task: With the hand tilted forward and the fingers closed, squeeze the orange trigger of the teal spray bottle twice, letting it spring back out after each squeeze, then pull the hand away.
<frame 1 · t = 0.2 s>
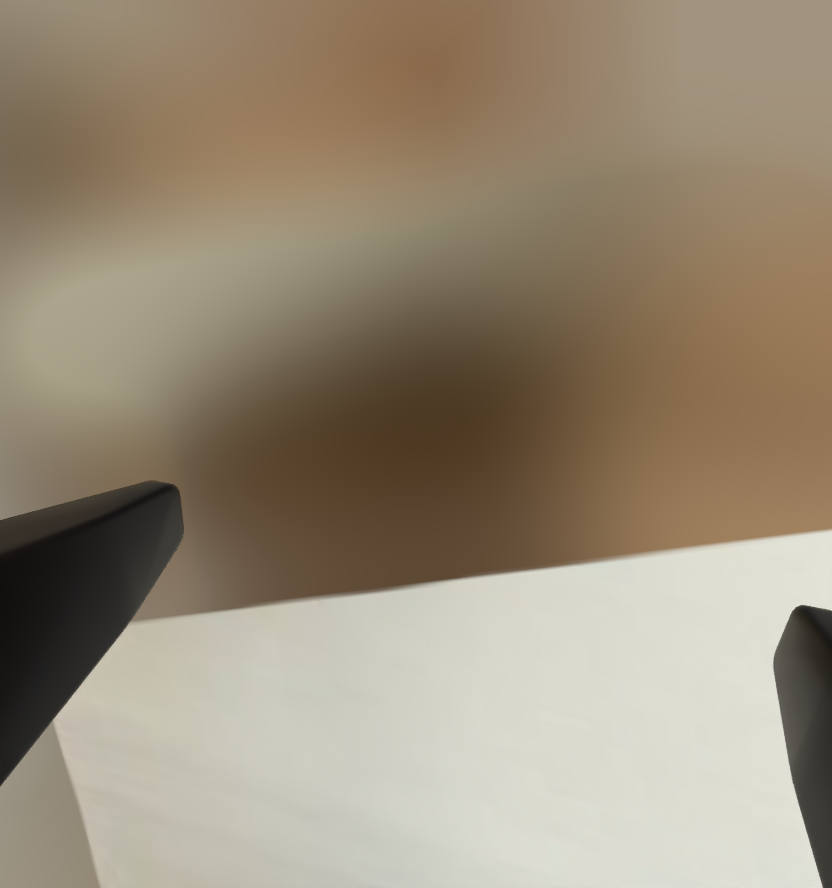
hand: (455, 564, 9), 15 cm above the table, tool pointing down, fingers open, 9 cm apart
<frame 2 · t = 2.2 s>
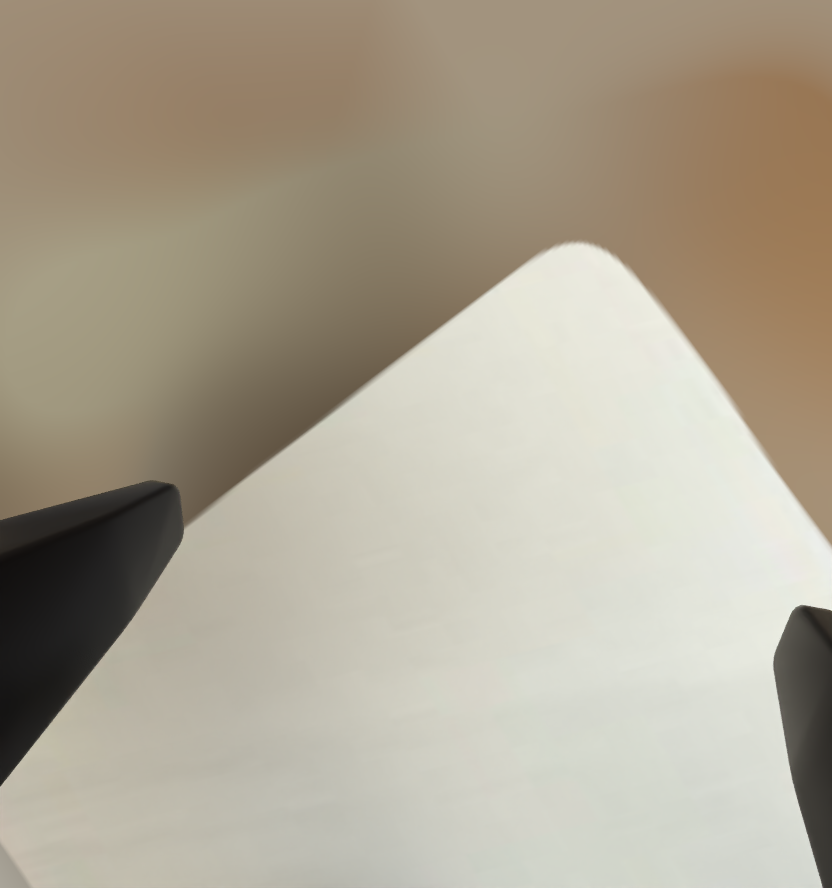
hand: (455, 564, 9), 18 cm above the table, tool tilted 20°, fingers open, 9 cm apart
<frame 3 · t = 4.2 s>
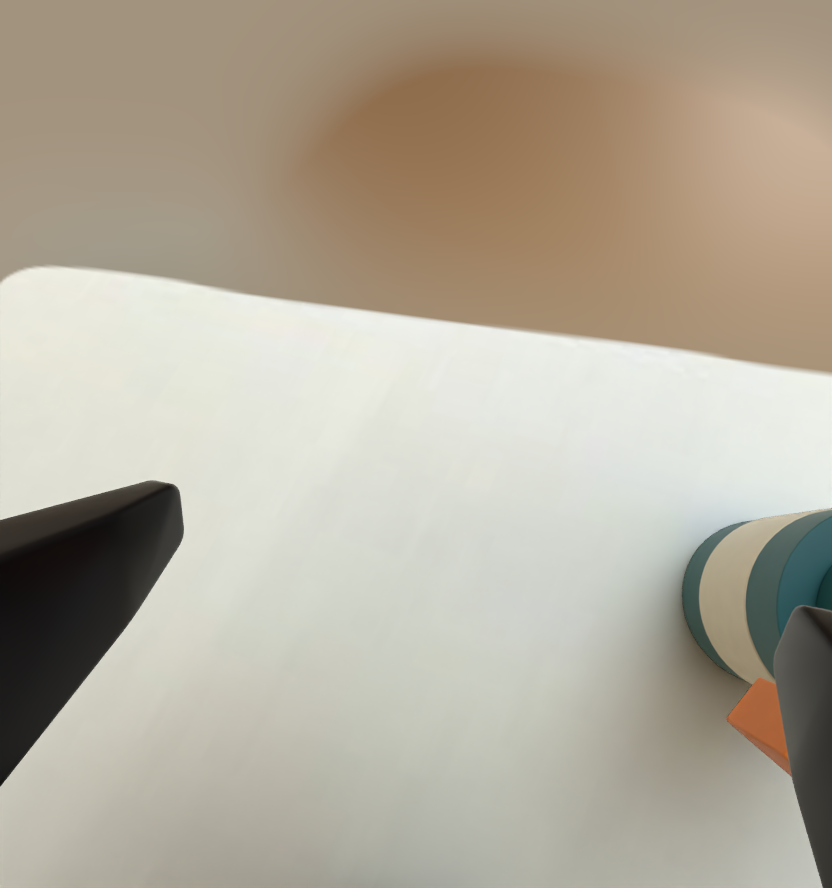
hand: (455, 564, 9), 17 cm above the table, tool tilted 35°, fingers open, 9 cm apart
spray bottle: (764, 601, 25), on the table
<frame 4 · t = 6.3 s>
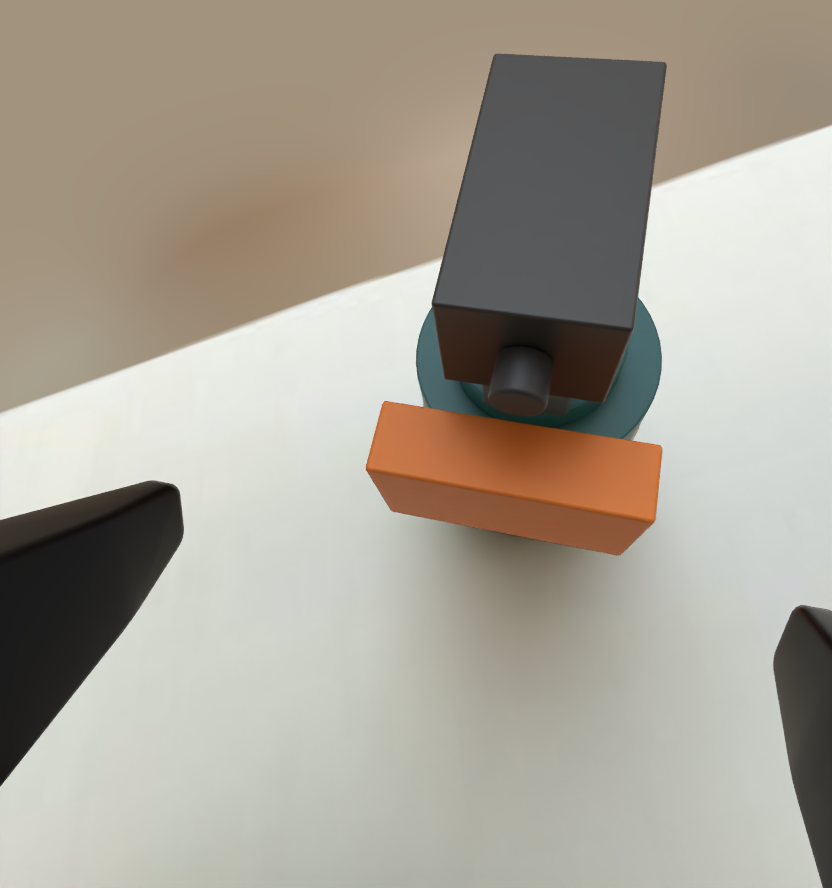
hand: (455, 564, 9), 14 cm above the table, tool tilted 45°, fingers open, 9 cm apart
spray bottle: (522, 453, 24), on the table
trigger: (508, 482, 12), point 11 cm above the table, slide at -0.1 cm
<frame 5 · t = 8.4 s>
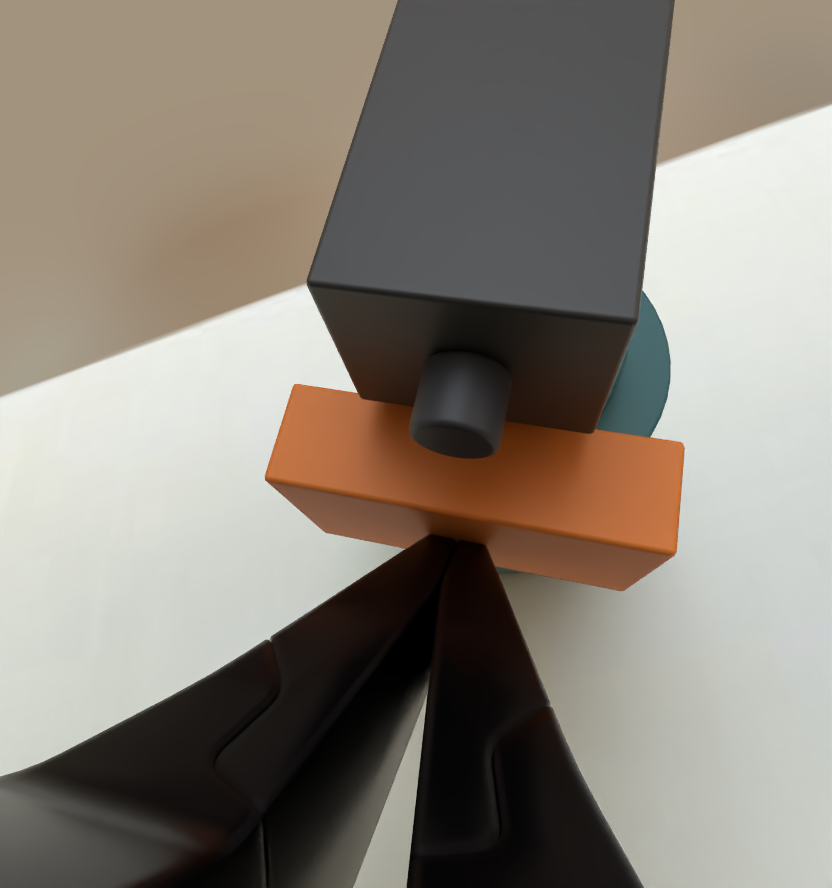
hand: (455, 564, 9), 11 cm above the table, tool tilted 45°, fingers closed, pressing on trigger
spray bottle: (504, 475, 20), on the table
trigger: (471, 495, 9), point 11 cm above the table, slide at 0.6 cm, touching gripper
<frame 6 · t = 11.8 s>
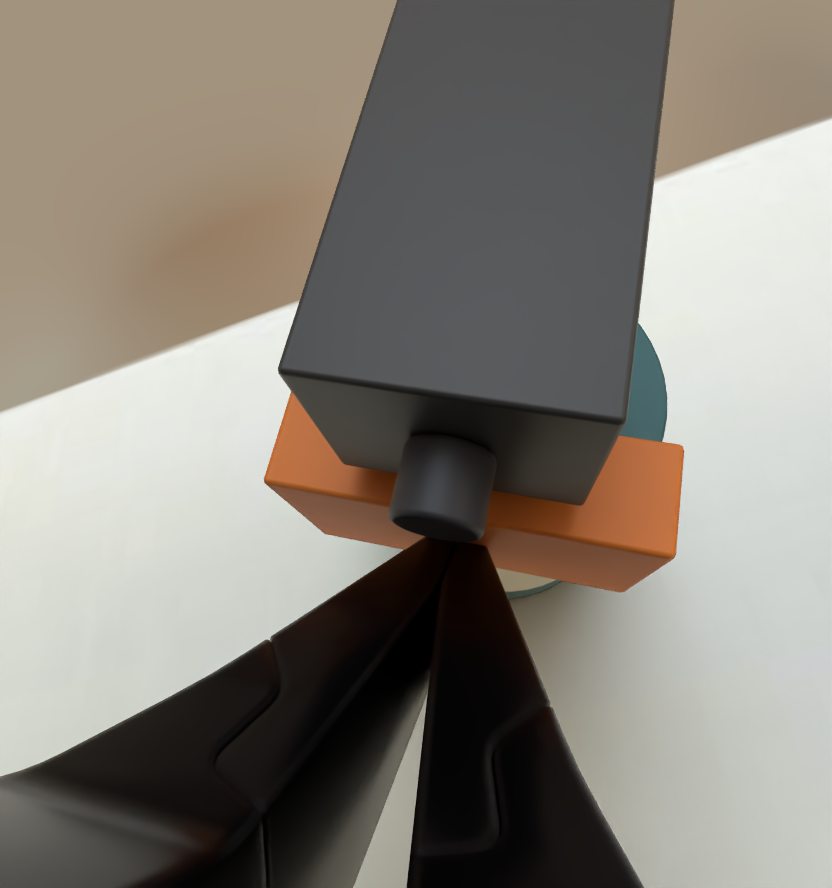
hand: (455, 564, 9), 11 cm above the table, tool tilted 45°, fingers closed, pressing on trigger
spray bottle: (500, 498, 20), on the table
trigger: (471, 497, 9), point 11 cm above the table, slide at 1.4 cm, touching gripper
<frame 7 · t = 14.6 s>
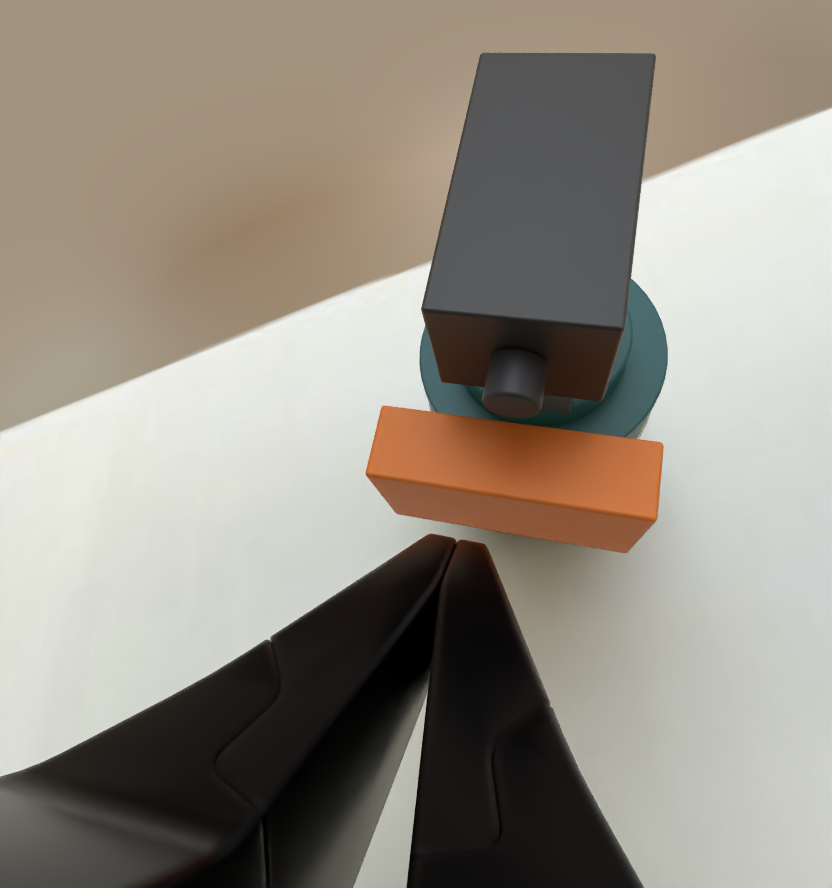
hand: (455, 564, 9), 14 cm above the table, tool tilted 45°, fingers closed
spray bottle: (533, 449, 24), on the table
trigger: (510, 483, 12), point 11 cm above the table, slide at -0.1 cm
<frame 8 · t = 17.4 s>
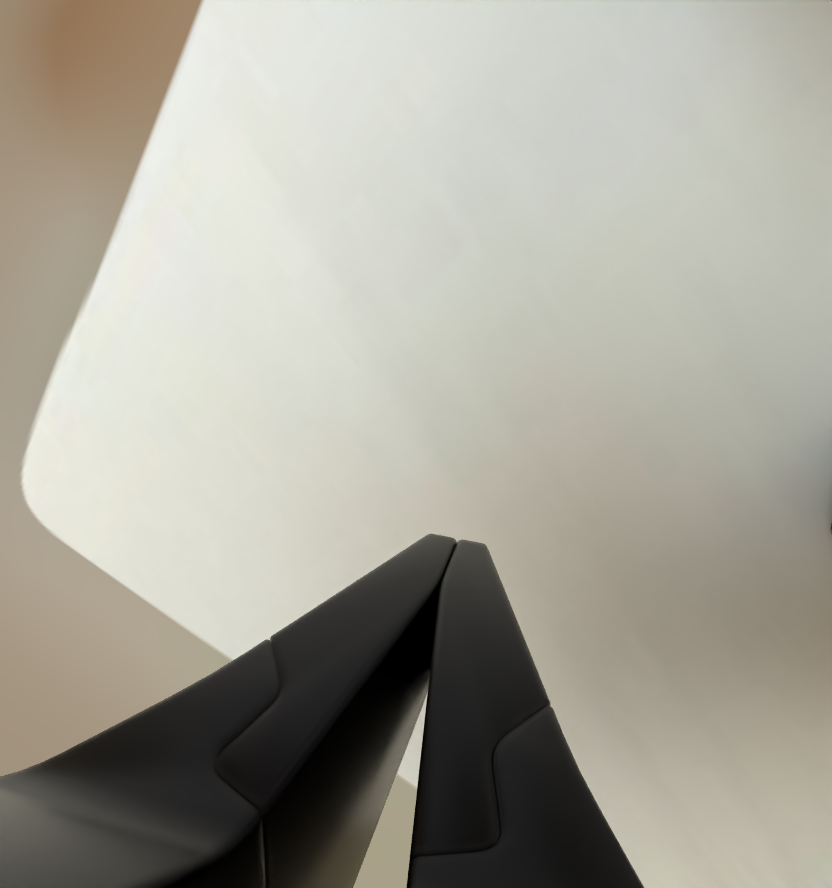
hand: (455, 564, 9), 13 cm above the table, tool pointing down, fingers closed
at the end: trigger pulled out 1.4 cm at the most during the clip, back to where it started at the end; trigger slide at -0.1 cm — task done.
